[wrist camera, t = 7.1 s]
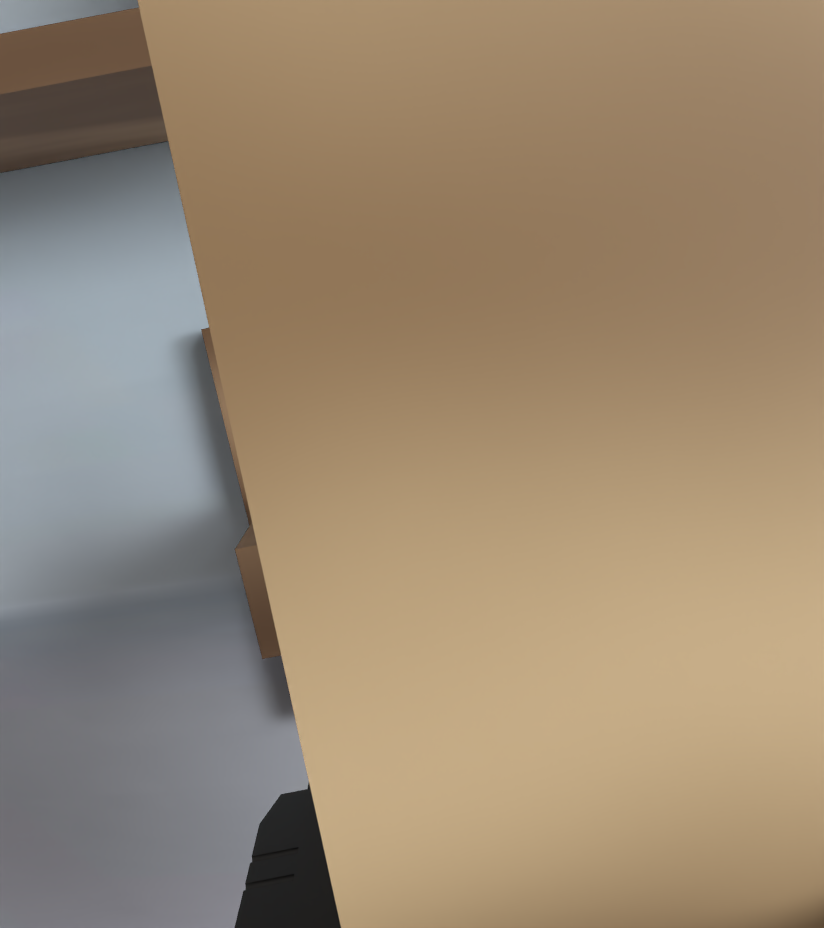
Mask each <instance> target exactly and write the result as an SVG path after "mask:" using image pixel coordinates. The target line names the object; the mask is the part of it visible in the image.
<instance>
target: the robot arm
mask: <svg viewBox="0 0 824 928" xmlns="http://www.w3.org/2000/svg"><path fill="white" fill-rule="evenodd" d="M245 884H246V890H245V891H243V895H242V900H241V904H240V908H239V912H238V916H237V920H236V925H235V928H341V925H340V920H339V916H338V911H337V907H336V902H335V898H334V893H333V889H332V884H331V879H330V875H329V870H328V866H327V861H326V857H325V852H324V848H323V843H322V838H321V834H320V829H319V825H318V820H317V816H316V811H315V807H314V802H313V797H312V793H311V788H310V784H308V789H306V790H301V791H296V792H291V793H286V794H281V795H280V797H279V798H278V799H277V801H276V802H275V804H274V805H273V806H272V808H271V809H270V810H269V812H268V813H267V815H266V816H265V817H264V819H263V820H262V822H261V823H260V825H259V829H258V833H257V837H256V841H255V845H254V850H253V854H252V862H251V863H250V866H249V870H248V875H247V879H246V883H245Z"/></svg>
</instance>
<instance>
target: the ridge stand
mask: <svg viewBox="0 0 824 928" xmlns="http://www.w3.org/2000/svg"><path fill="white" fill-rule="evenodd" d="M201 330H202V335H203V339H204V343H205V347H206V351H207V355H208V359H209V363H210V367H211V371H212V375H213V379H214V383H215V388H216V392H217V396H218V400H219V404H220V408H221V412H222V416H223V420H224V424H225V428H226V432H227V436H228V440H229V445H230V449H231V453H232V457H233V461H234V465H235V469H236V473H237V477H238V481H239V485H240V489H241V493H242V498H243V502H244V506H245V510H246V514H247V518H248V522H249V528H248V529H247V531H246V532H245V534H244V536H243V537H242V539H241V540H240V542H239V544H238V545H237V547H236V548H235V552H236V556H237V560H238V563H239V567H240V571H241V575H242V579H243V583H244V587H245V591H246V595H247V599H248V603H249V607H250V611H251V615H252V619H253V623H254V627H255V631H256V635H257V639H258V643H259V647H260V651H261V655H262V659H265V658H270V657H275V656H280V655H281V652H280V647H279V642H278V638H277V633H276V629H275V624H274V620H273V615H272V611H271V606H270V601H269V597H268V592H267V588H266V583H265V579H264V574H263V570H262V565H261V560H260V556H259V551H258V547H257V542H256V538H255V533H254V529H253V524H252V519H251V515H250V510H249V506H248V501H247V497H246V492H245V488H244V483H243V478H242V474H241V469H240V465H239V460H238V456H237V451H236V447H235V442H234V437H233V433H232V428H231V424H230V419H229V415H228V410H227V406H226V401H225V396H224V392H223V387H222V383H221V378H220V374H219V369H218V365H217V360H216V355H215V351H214V346H213V342H212V337H211V333H210V328H206V329H201Z"/></svg>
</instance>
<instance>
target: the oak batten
mask: <svg viewBox="0 0 824 928" xmlns="http://www.w3.org/2000/svg"><path fill="white" fill-rule="evenodd" d="M138 5H139V9H140V14H141V18H142V23H143V27H144V32H145V37H146V41H147V46H148V50H149V55H150V59H151V64H152V68H153V73H154V78H155V82H156V87H157V91H158V96H159V100H160V105H161V109H162V114H163V119H164V123H165V128H166V132H167V137H168V141H169V146H170V150H171V155H172V160H173V164H174V169H175V173H176V178H177V182H178V187H179V191H180V196H181V201H182V205H183V210H184V214H185V219H186V223H187V228H188V232H189V237H190V242H191V246H192V251H193V255H194V260H195V264H196V269H197V273H198V278H199V283H200V287H201V292H202V296H203V301H204V305H205V310H206V314H207V319H208V324H209V328H210V333H211V337H212V342H213V346H214V351H215V355H216V360H217V365H218V369H219V374H220V378H221V383H222V387H223V392H224V396H225V401H226V406H227V410H228V415H229V419H230V424H231V428H232V433H233V437H234V442H235V447H236V451H237V456H238V460H239V465H240V469H241V474H242V478H243V483H244V488H245V492H246V497H247V501H248V506H249V510H250V515H251V519H252V524H253V529H254V533H255V538H256V542H257V547H258V551H259V556H260V560H261V565H262V570H263V574H264V579H265V583H266V588H267V592H268V597H269V601H270V606H271V611H272V615H273V620H274V624H275V629H276V633H277V638H278V642H279V647H280V652H281V656H282V661H283V665H284V670H285V674H286V679H287V683H288V688H289V693H290V697H291V702H292V706H293V711H294V715H295V720H296V725H297V729H298V734H299V738H300V743H301V747H302V752H303V756H304V761H305V766H306V770H307V775H308V779H309V784H310V788H311V793H312V797H313V802H314V807H315V811H316V816H317V820H318V825H319V829H320V834H321V838H322V843H323V848H324V852H325V857H326V861H327V866H328V870H329V875H330V879H331V884H332V889H333V893H334V898H335V902H336V907H337V911H338V916H339V920H340V925H341V928H824V0H138Z"/></svg>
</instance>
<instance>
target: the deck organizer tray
mask: <svg viewBox="0 0 824 928" xmlns="http://www.w3.org/2000/svg"><path fill="white" fill-rule="evenodd" d="M165 141H168V137H167V132H166V128H165V123H164V119H163V114H162V109H161V105H160V100H159V96H158V91H157V87H156V82H155V78H154V73H153V68H152V64H151V59H150V55H149V50H148V46H147V41H146V37H145V32H144V27H143V23H142V18H141V14H140V9H139V8H134V9H129V10H123V11H118V12H113V13H107V14H102V15H97V16H92V17H86V18H81V19H76V20H71V21H65V22H60V23H55V24H50V25H44V26H39V27H34V28H29V29H23V30H18V31H13V32H8V33H2V34H0V173H2V172H8V171H13V170H18V169H23V168H29V167H34V166H39V165H44V164H50V163H55V162H60V161H65V160H71V159H76V158H81V157H86V156H92V155H97V154H102V153H107V152H113V151H118V150H123V149H128V148H134V147H139V146H144V145H149V144H155V143H160V142H165Z"/></svg>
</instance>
